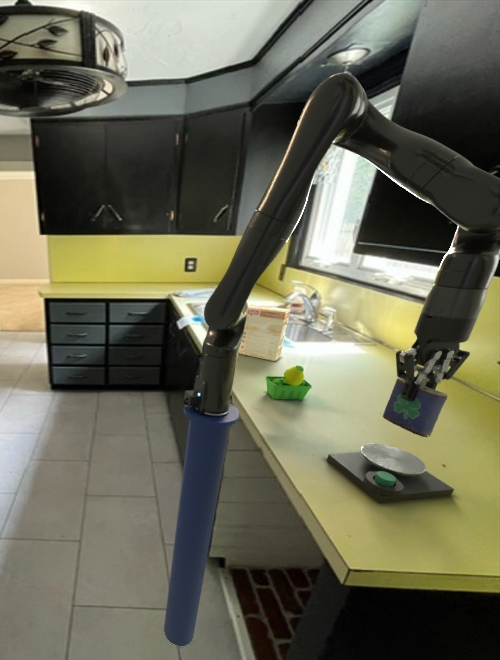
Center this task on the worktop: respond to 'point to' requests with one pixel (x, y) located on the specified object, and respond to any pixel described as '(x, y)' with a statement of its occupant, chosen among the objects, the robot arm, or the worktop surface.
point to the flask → (415, 408)
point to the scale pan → (393, 459)
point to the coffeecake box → (264, 332)
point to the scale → (401, 490)
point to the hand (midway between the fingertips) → (414, 398)
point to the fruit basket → (288, 384)
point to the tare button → (385, 479)
